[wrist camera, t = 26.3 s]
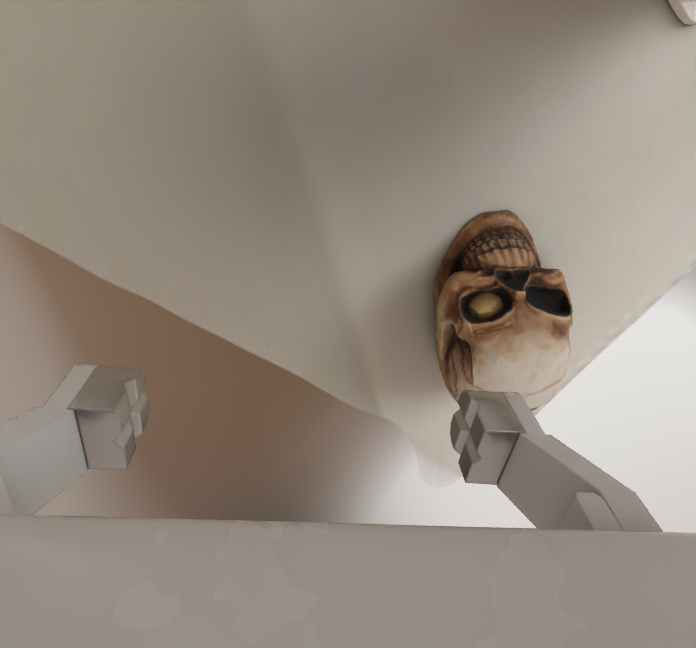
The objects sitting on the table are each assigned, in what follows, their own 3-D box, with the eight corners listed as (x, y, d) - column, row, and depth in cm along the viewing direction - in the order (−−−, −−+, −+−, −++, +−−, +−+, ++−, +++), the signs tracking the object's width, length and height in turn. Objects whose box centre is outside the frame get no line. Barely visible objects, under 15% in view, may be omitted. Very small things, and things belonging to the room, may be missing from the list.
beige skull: (506, 194, 44) (574, 264, 33) (571, 303, 53) (641, 384, 42) (376, 287, 49) (400, 373, 38) (456, 372, 58) (494, 460, 47)
